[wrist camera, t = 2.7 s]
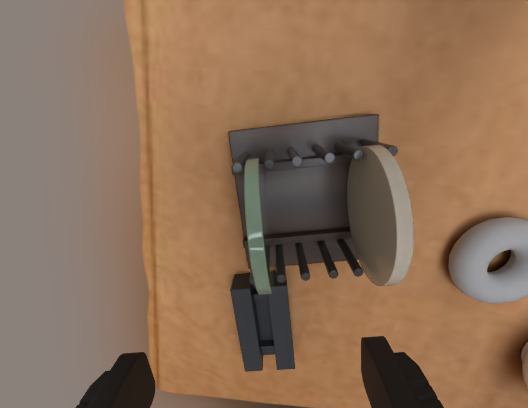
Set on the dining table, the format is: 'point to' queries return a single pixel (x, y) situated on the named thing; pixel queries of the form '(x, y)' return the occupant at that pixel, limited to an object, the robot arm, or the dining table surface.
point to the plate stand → (263, 323)
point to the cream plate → (380, 216)
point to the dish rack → (306, 187)
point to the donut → (483, 251)
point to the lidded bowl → (525, 363)
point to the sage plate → (258, 226)
